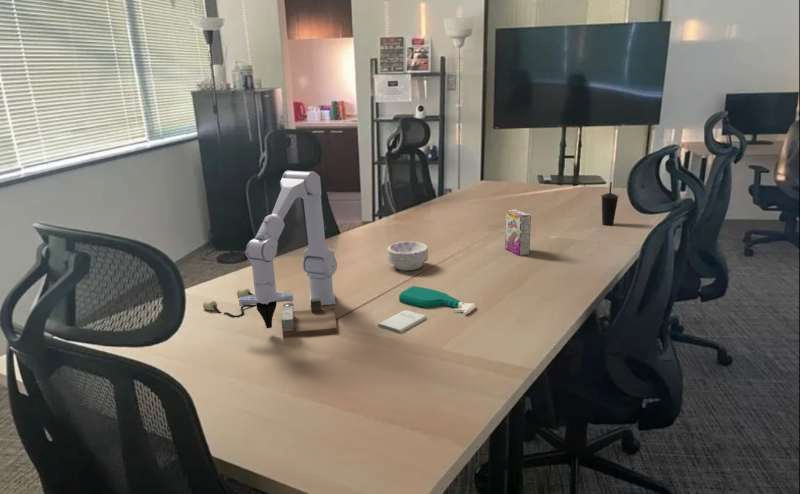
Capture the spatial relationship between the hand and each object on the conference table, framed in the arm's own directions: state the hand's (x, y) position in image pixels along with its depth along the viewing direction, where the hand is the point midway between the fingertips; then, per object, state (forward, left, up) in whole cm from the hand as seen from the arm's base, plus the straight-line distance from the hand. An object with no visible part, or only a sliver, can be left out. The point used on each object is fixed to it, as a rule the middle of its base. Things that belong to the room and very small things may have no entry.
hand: (269, 326), depth 158 cm
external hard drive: (0, +38, -3) cm, 38 cm away
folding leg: (-3, +5, -1) cm, 6 cm away
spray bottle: (-11, +51, -3) cm, 52 cm away
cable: (-25, -12, -3) cm, 28 cm away
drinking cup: (-89, +150, -3) cm, 175 cm away
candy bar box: (-58, +94, -3) cm, 111 cm away
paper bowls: (-50, +48, -3) cm, 70 cm away
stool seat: (-4, +11, -2) cm, 12 cm away
